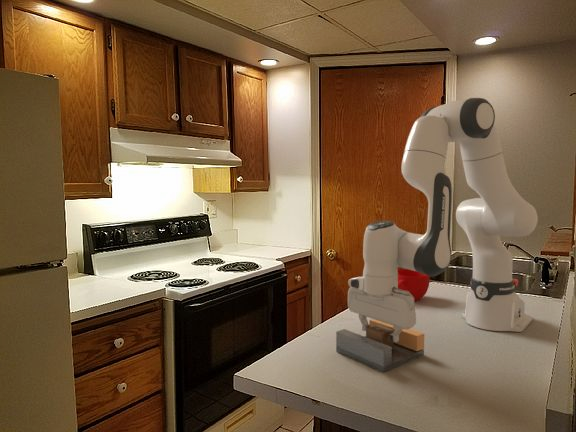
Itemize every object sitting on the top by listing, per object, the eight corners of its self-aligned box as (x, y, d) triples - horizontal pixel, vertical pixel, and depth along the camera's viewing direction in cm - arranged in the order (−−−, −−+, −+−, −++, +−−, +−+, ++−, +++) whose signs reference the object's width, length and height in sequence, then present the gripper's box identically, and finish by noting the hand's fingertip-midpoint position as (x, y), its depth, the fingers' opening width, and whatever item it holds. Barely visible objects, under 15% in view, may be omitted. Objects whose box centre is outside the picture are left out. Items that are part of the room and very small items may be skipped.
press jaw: (376, 331, 125) (376, 317, 124) (424, 348, 112) (424, 333, 112) (369, 333, 123) (369, 319, 123) (417, 351, 110) (417, 336, 110)
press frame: (376, 337, 125) (376, 318, 124) (423, 355, 112) (424, 334, 112) (336, 351, 115) (336, 331, 115) (383, 372, 103) (383, 350, 102)
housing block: (378, 342, 117) (378, 323, 117) (393, 348, 113) (393, 329, 113) (366, 347, 114) (366, 328, 114) (380, 353, 110) (380, 333, 110)
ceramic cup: (382, 302, 159) (382, 275, 158) (403, 292, 172) (403, 267, 171) (416, 308, 151) (416, 280, 150) (435, 297, 164) (435, 271, 163)
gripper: (421, 290, 106) (421, 344, 107) (359, 275, 122) (359, 323, 123) (405, 294, 102) (405, 351, 103) (343, 279, 118) (343, 328, 119)
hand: (379, 335), depth 113 cm, fingers open, 8 cm apart
